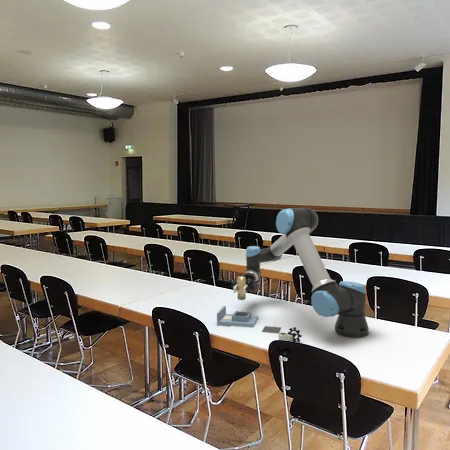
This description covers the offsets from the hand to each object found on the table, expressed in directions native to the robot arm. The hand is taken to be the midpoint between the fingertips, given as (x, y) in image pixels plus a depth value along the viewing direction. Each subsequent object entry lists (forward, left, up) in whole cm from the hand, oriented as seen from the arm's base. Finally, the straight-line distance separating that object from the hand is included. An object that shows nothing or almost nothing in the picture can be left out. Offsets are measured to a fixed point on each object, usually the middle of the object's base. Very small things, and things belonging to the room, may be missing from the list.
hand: (238, 290), depth 207 cm
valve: (-26, +18, -18) cm, 36 cm away
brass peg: (0, -5, -6) cm, 8 cm away
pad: (-16, +2, -18) cm, 24 cm away
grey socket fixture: (+2, -5, -18) cm, 19 cm away
